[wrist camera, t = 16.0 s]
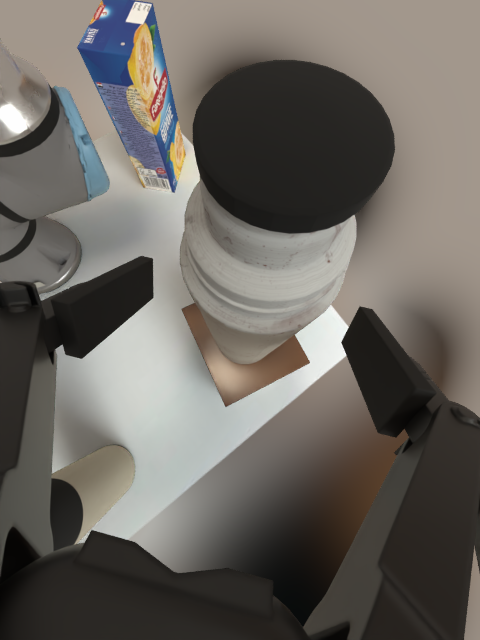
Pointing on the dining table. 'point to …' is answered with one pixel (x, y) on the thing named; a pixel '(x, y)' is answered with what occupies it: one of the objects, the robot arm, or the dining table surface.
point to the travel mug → (87, 492)
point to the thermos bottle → (278, 198)
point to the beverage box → (136, 88)
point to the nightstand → (242, 377)
